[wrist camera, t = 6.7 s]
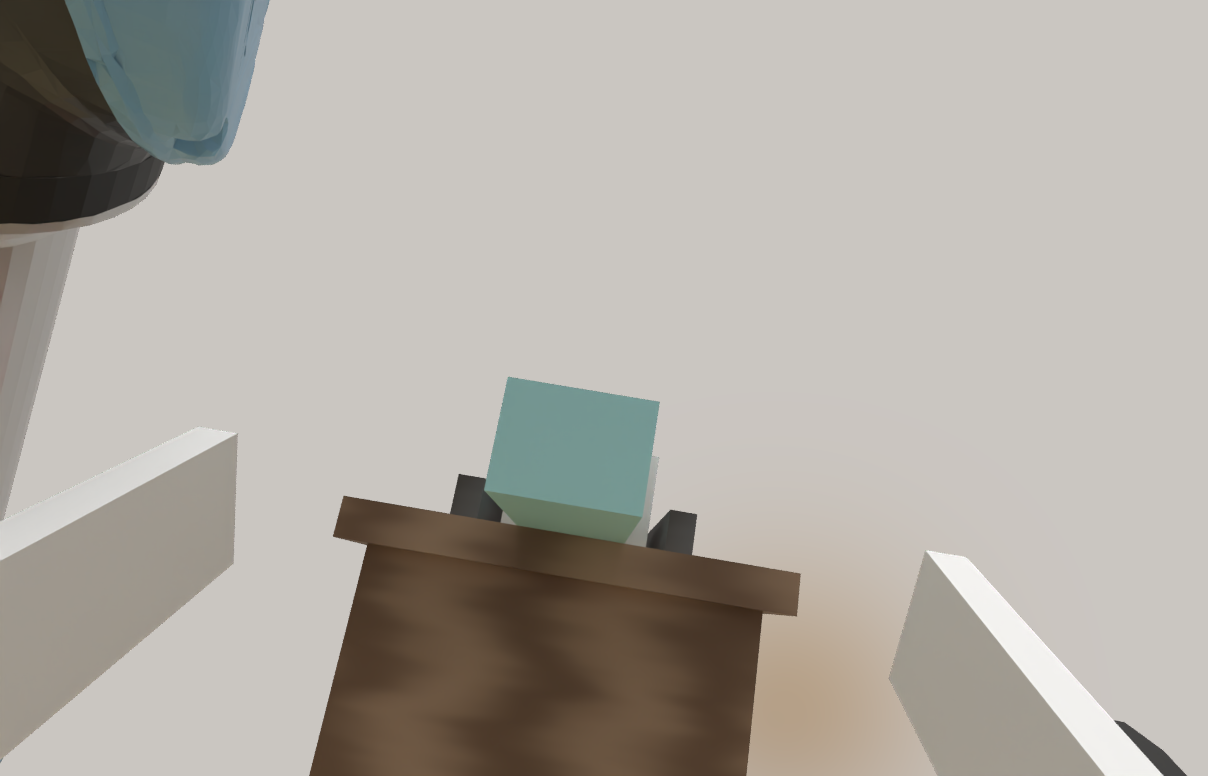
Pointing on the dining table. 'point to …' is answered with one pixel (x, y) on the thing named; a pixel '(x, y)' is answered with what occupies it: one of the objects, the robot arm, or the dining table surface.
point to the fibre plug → (574, 461)
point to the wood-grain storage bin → (541, 649)
